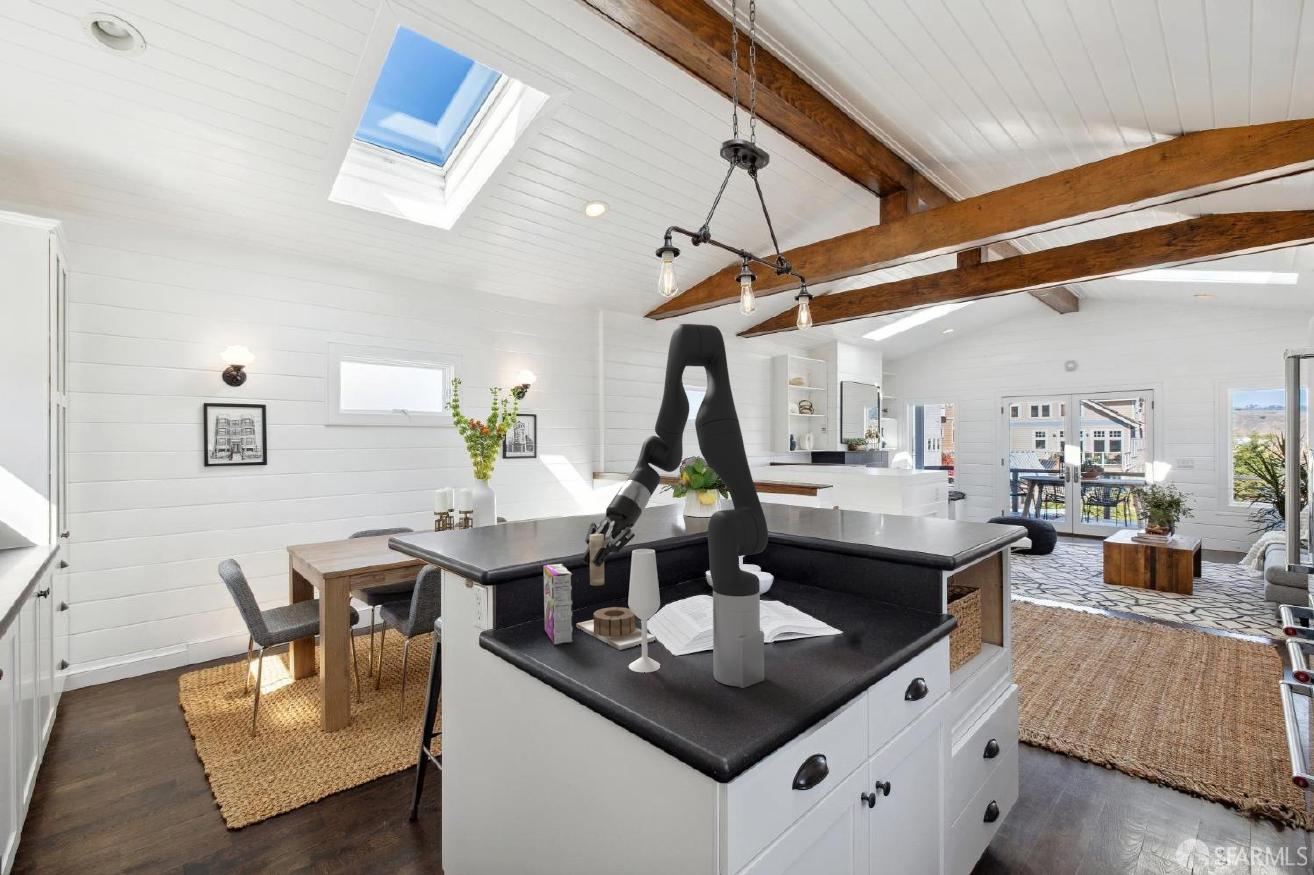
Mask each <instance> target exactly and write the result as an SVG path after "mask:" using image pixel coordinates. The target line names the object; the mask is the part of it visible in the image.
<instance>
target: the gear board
mask: <svg viewBox="0 0 1314 875" xmlns="http://www.w3.org/2000/svg"><path fill="white" fill-rule="evenodd" d="M575 627H577V629H578V630H580V629H581V631H582V630H583V633H586V634H588V635H590V636H591V637H594V638H596V639H597V640H600V641H602V642H604V643H606V644H607V643H608V644H607V645H609V646H611V647H613V648H616V649H617V650H619V651H621V650H625V649H628V648H633V647H635V646H636V645H637V646H640V645H639V644H641V645H642V629H640V628H637V627H636V615H635V614H634V613H633V612H632V611H631V610H630V608H628V607H618V606H613V607H611V606H610V607H606V608H600V609H597V610H595V611H594V612H593V619H590V620H585V621H582V622H577V623H576V626H575ZM654 640H655V641H656V635H654V634H651V633H649V632H647V644H648V643H652V642H655V641H654Z"/></svg>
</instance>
